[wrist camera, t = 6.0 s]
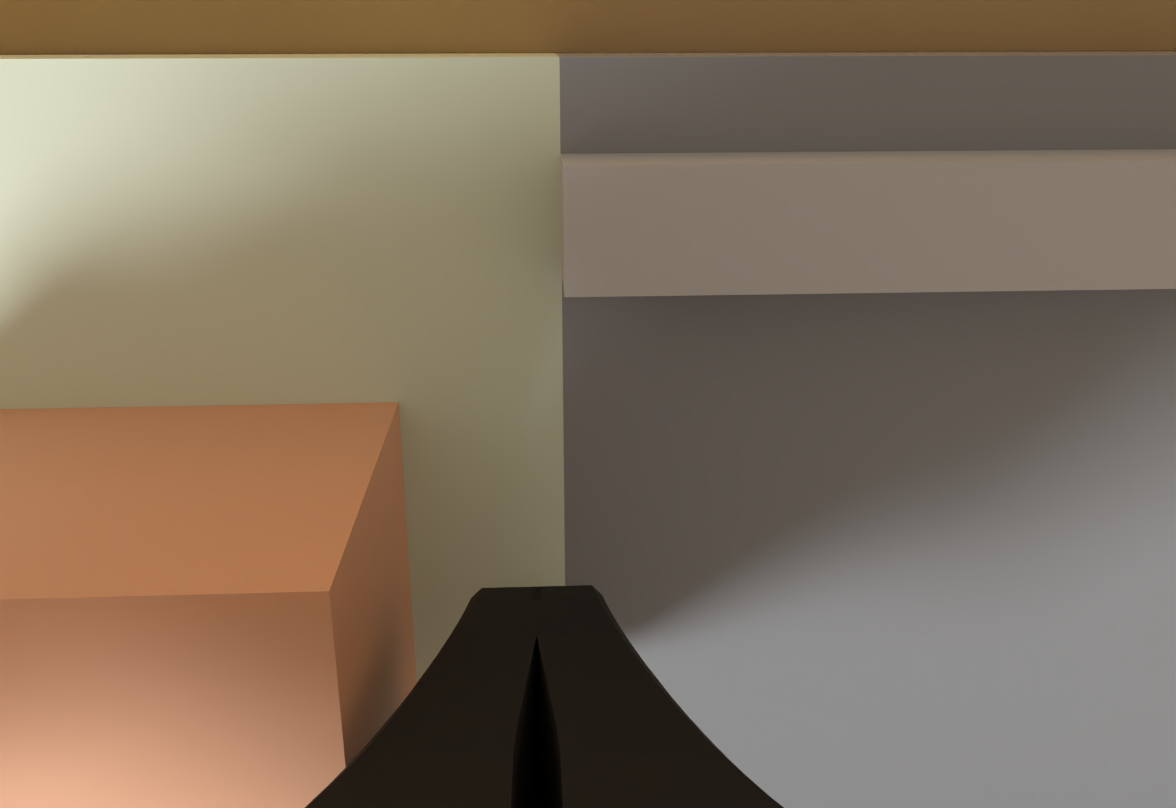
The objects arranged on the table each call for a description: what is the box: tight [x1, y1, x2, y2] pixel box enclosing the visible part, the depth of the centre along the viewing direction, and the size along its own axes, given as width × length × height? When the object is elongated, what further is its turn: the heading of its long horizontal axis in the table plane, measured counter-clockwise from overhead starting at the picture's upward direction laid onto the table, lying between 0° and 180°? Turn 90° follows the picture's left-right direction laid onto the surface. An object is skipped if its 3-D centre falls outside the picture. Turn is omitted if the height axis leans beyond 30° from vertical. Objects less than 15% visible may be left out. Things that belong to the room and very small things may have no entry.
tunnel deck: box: [0, 51, 1176, 808], centre depth 13 cm, size 12×30×4 cm, turn 90°
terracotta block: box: [0, 402, 417, 808], centre depth 10 cm, size 5×5×4 cm
